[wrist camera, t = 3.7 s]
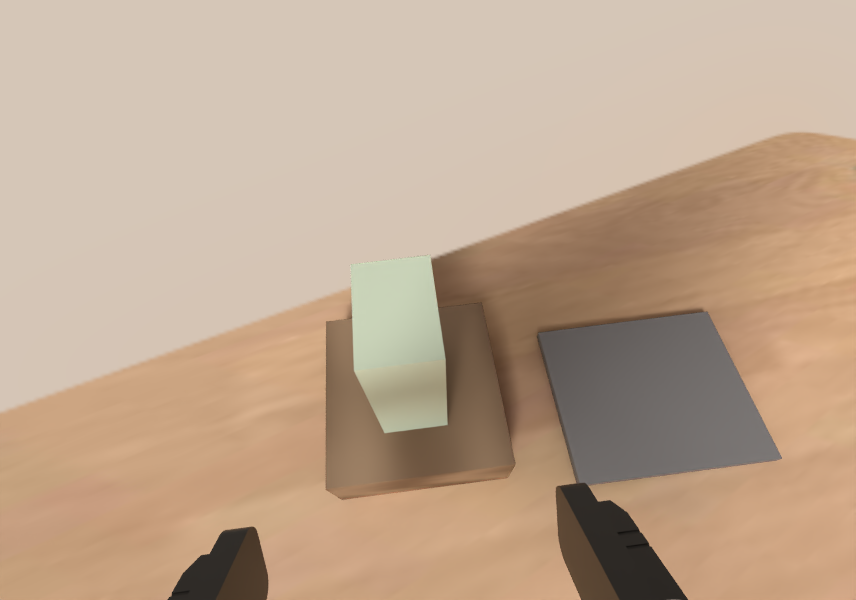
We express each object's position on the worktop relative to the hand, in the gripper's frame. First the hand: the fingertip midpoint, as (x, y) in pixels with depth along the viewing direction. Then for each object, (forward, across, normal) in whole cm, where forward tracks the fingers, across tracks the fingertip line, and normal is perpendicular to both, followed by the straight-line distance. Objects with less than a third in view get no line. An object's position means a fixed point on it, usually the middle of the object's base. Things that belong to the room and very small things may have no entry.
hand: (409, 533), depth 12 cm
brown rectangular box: (+17, 0, +5) cm, 18 cm away
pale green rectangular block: (+14, 0, +2) cm, 14 cm away
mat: (+16, -15, +6) cm, 23 cm away
